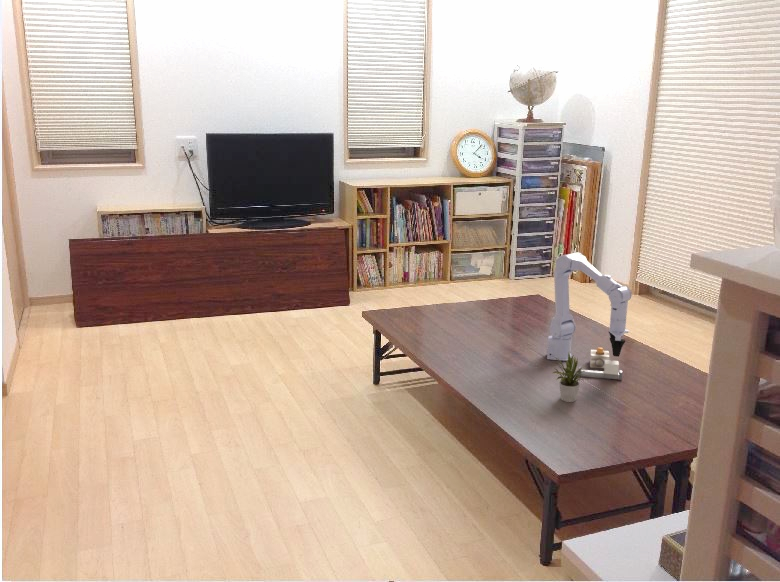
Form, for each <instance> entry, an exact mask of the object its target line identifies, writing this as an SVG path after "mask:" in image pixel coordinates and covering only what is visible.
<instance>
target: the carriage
mask: <svg viewBox="0 0 780 582" xmlns="http://www.w3.org/2000/svg"><path fill="white" fill-rule="evenodd" d="M619 370H620V362H619V361H618V360H611V359H609V360H605V365H604V368H603V371H604V378H603V379H607V378H611V379H610V380H618V373H619Z"/></svg>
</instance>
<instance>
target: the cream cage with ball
mask: <svg viewBox="0 0 780 582" xmlns="http://www.w3.org/2000/svg"><path fill="white" fill-rule="evenodd" d="M589 355H590V357H589V367H590V368H594V369H595V368H596V369H604V365H605V360H610V352H609V350H603V354H597V349H590V354H589Z"/></svg>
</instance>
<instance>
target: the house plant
mask: <svg viewBox="0 0 780 582" xmlns="http://www.w3.org/2000/svg"><path fill="white" fill-rule="evenodd" d="M570 354H571V353H570ZM570 354H569V352H568V360H567V361H565V366H566V368H565V367H564V364H563V362H562V360H559V359H558V358H556V357H555V358H556V359H557V360H556V361H559V363H560V364H561V365H558V364H555V363H551V364H552V365H553V366H555V367H558V368H559V369H560V370H561V371H559V370H558V369H557V368H554V367H553V369H554V370H555V371H553V372H552V374H556V375H559V376H558V377H557V378H556V380H559V381H558V382H559V391H560V393H559V394H560V399H561V401H564V402H566V403H573V402H575V401H577V398H578V393H579V390H580V389H579V388H580V385H581V384H580V381H581V380H582V381H583V382H585V380H584V379H583V378H582V379H581V378H580V377H579V376H578V375H579V374H580V373H582V372H586V371H581V372H579V371H580V370H581V369H582V370H583V368H584V367H585V365H586V363H584V364H583V365H582V366H581V368H580V369H579V368H578V369H577V366H578V361H579V360H578V357H576V356H574V355H571V356H570ZM552 357H553V356H552ZM576 369H577V370H576ZM578 372H579V373H578Z"/></svg>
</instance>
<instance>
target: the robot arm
mask: <svg viewBox="0 0 780 582" xmlns="http://www.w3.org/2000/svg"><path fill="white" fill-rule="evenodd" d="M575 271H579V272H582V273H584V274H585V275H586V276H587V277H589V278H590V279H592V280H593V281H594V282H595V283H596V284H595V285H596V287H598V289H600V290H601V291H602V292H603V293H604V294H606V295H607V296H608V299H609V302H610V306H611V307H610V320H609V329H608V334H609V336H610V337H609V341H610V343H611V349H612V357H618V358H619V357H620V356H621V355H620V354H621V351H622V349H623V347H624V345H625V343H626V341H627V340H626V339H622V338H623V336H624V335H625V334H628V333H630V332H629V329H626V327H627V326H626V325H627V324H626V323H627V316H628V304H629V303H628V302H629V301H630V300H631V298H632V292H631V289H630V288H629V287H628V286H626V285H621V284H620V283H619V282H617V281H616V280H614V279H613V278H612V276H611V275H610V274H602V273H601V272H600V271H599V270H598V269H597V268H596V267H594V265H592V264H591V263H590V262H589V261H588V260H587V257H586V256H585V255H583V254H582V253H581V252H579V251H578V252H574V253H568V254H562V255H560V256H559V257H557V259H555V267H554V270H553V276H554V277H553V278H554V303H555V307H554V308H555V314H554V316H553V317H552V318H551V321H550V322H551V324H550V326H549V332H550V333H549V334H550V335H548V339H547V349H546V354H547V356H546V359H547V360H552V361H553V360H554V361H559V360H560V361H563V362H566V361H567V360H568V352H569V354H570V356H571V357H572V353H571V352H572V351H571V347H572V337H573V334H574V333H575V332H576V330H577V329H576V328H577V326H576V323H575V320H574V316H573V315H572V314H571V312H570V287H569V286H570V285H569V276H570V275H571V274H572V273H573V272H575ZM552 356H553V357H552ZM555 357H556V358H558V359H559V360H557V359H556V358H555Z"/></svg>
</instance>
